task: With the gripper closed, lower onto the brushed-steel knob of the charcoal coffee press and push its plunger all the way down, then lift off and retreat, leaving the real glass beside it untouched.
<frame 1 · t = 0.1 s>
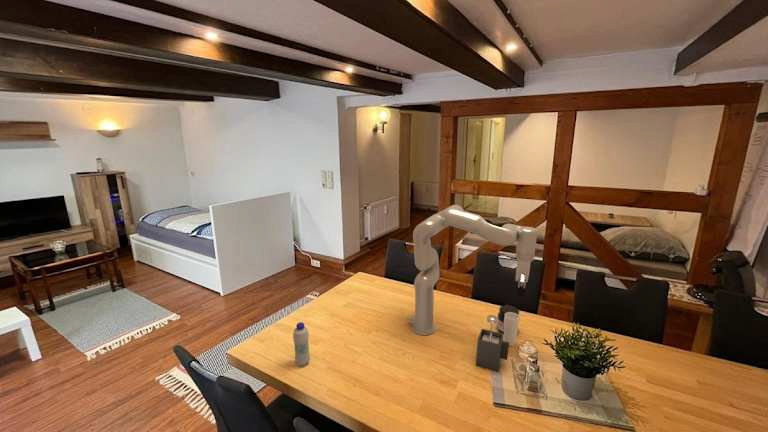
hand: (521, 291, 150), 31 cm above the table, fingers open, 9 cm apart
supplement container: (507, 330, 174), on the table
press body: (488, 362, 150), on the table
plunger: (491, 329, 146), point 16 cm above the table, slide at 0.0 cm
drinking glass: (509, 343, 164), on the table
bottle: (302, 363, 149), on the table
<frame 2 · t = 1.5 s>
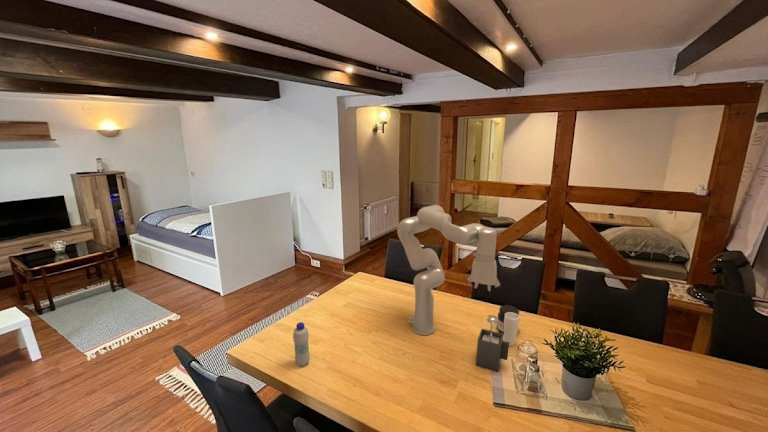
hand: (482, 296, 144), 31 cm above the table, fingers open, 3 cm apart
nothing on the table moved.
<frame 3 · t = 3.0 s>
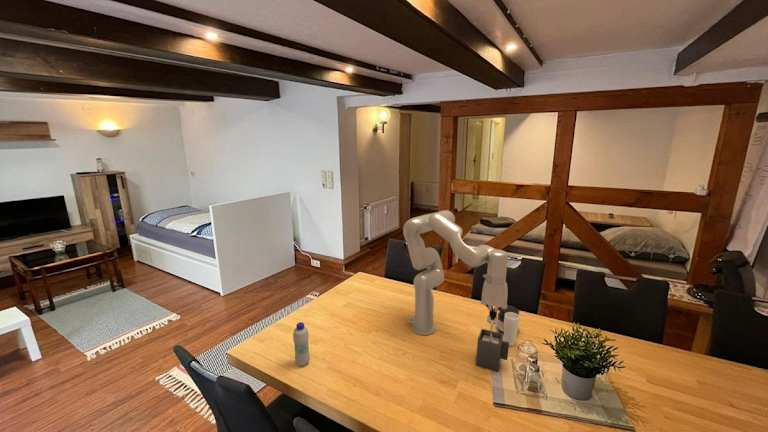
hand: (492, 318, 144), 22 cm above the table, fingers closed
plunger: (491, 330, 146), point 16 cm above the table, slide at 0.3 cm, touching gripper
everything else where it was.
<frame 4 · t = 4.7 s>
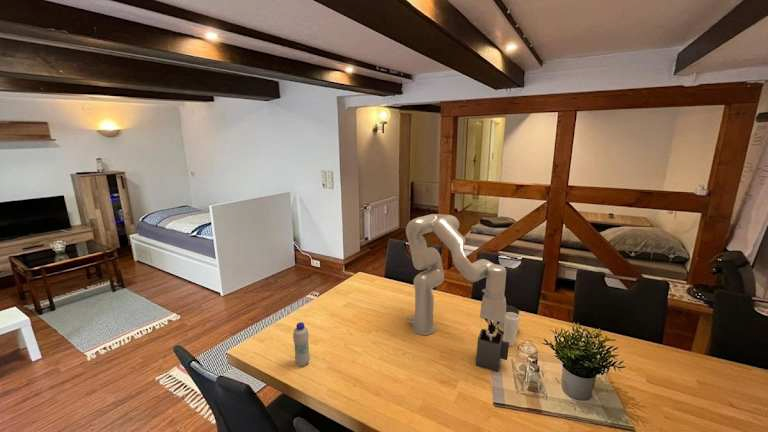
hand: (491, 332, 146), 15 cm above the table, fingers closed
plunger: (490, 343, 148), point 9 cm above the table, slide at 7.0 cm, touching gripper
everything else where it was.
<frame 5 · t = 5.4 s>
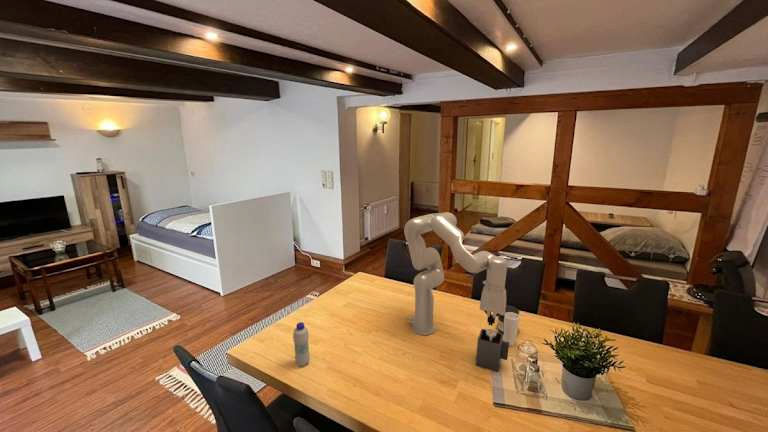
hand: (490, 323, 146), 19 cm above the table, fingers closed
plunger: (490, 343, 148), point 9 cm above the table, slide at 7.0 cm
everything else where it was.
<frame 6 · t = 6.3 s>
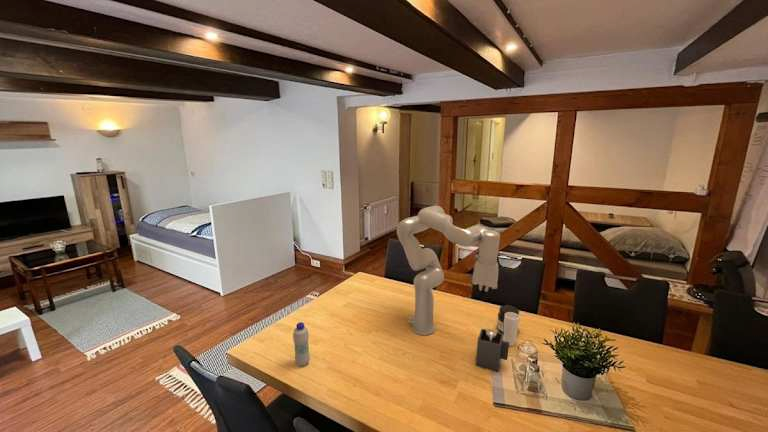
hand: (482, 297, 147), 30 cm above the table, fingers closed
nothing on the table moved.
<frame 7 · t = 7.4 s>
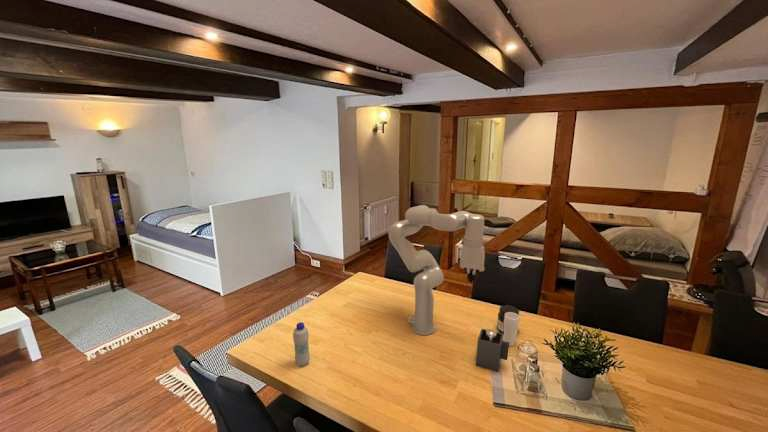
hand: (470, 281, 150), 35 cm above the table, fingers closed
nothing on the table moved.
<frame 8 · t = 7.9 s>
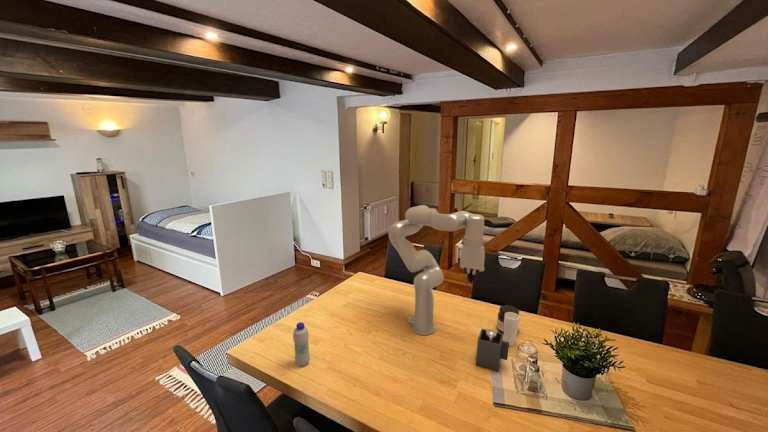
hand: (470, 281, 150), 35 cm above the table, fingers closed
nothing on the table moved.
at the end: plunger slide at 7.0 cm; drinking glass moved 0.2 cm from its start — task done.
